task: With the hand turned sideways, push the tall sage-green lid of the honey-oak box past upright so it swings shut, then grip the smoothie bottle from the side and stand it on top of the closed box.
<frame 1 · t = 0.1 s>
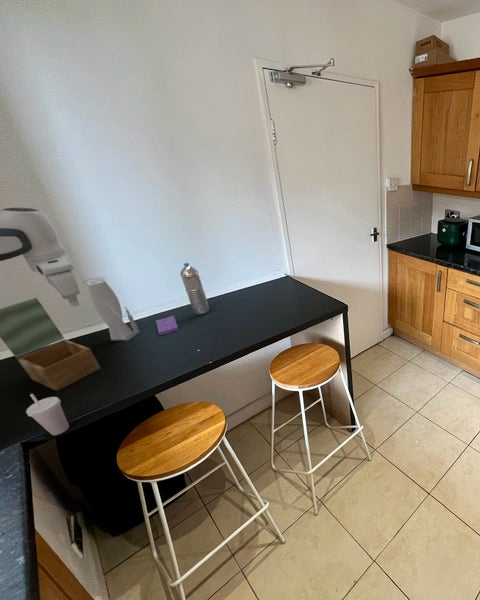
hand: (71, 301, 102), 27 cm above the countertop, tool pointing down, fingers open, 8 cm apart
chest: (67, 373, 111), on the countertop
skyscraper: (124, 337, 132), on the countertop
smoothie: (60, 430, 90), on the countertop
water bottle: (202, 312, 151), on the countertop
lid: (26, 327, 106), point 17 cm above the countertop, hinge at 100.6°
sponge: (168, 327, 139), on the countertop
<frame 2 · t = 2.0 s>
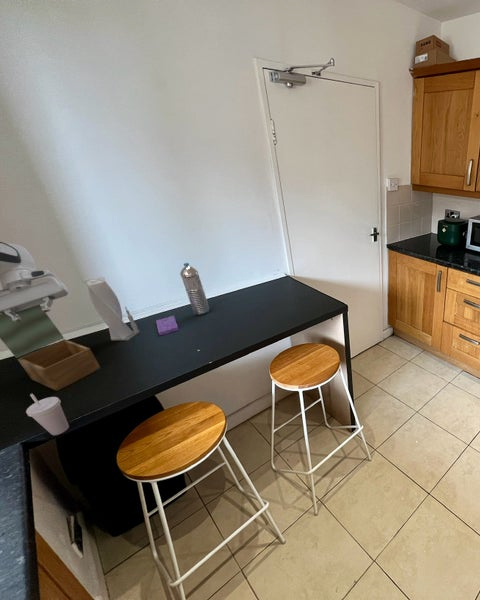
hand: (32, 315, 104), 22 cm above the countertop, tool tilted 55°, fingers open, 6 cm apart
lid: (25, 327, 107), point 17 cm above the countertop, hinge at 106.3°, touching gripper
everything else where it was.
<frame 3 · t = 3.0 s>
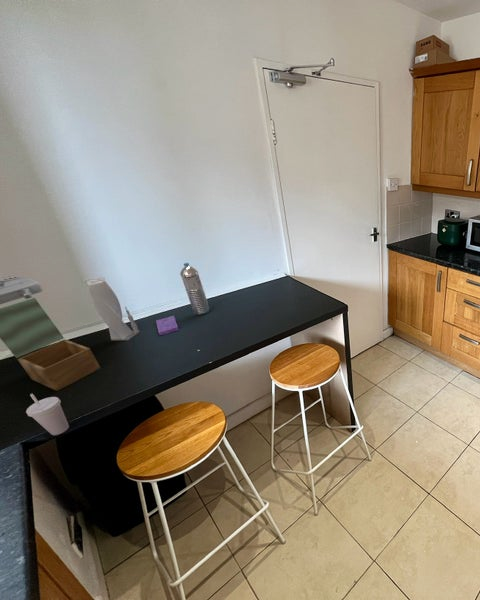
hand: (8, 302, 104), 26 cm above the countertop, tool horizontal, fingers open, 8 cm apart
lid: (25, 327, 107), point 17 cm above the countertop, hinge at 105.8°
everything else where it was.
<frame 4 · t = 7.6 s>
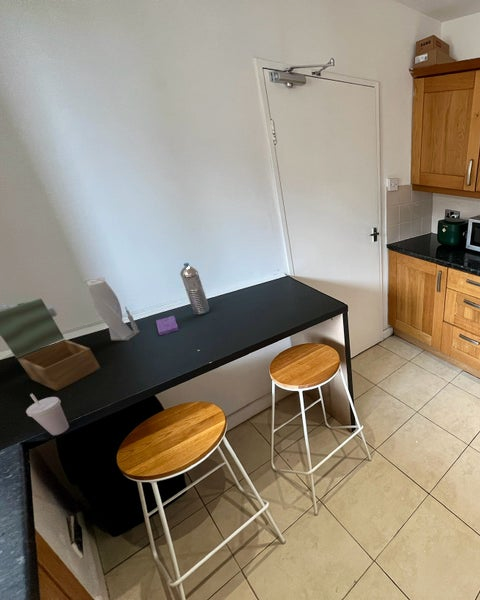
hand: (27, 326, 106), 18 cm above the countertop, tool horizontal, fingers closed, pressing on lid
lid: (28, 327, 106), point 17 cm above the countertop, hinge at 89.1°, touching gripper
everything else where it was.
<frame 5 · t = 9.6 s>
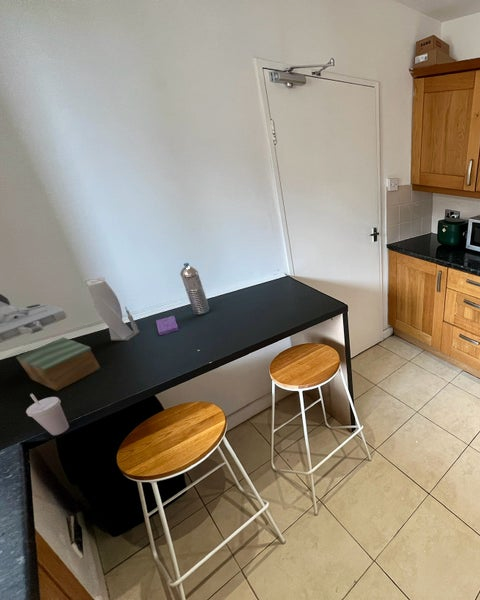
hand: (36, 329, 104), 18 cm above the countertop, tool horizontal, fingers closed
lid: (54, 352, 107), point 9 cm above the countertop, hinge at -0.1°
everything else where it was.
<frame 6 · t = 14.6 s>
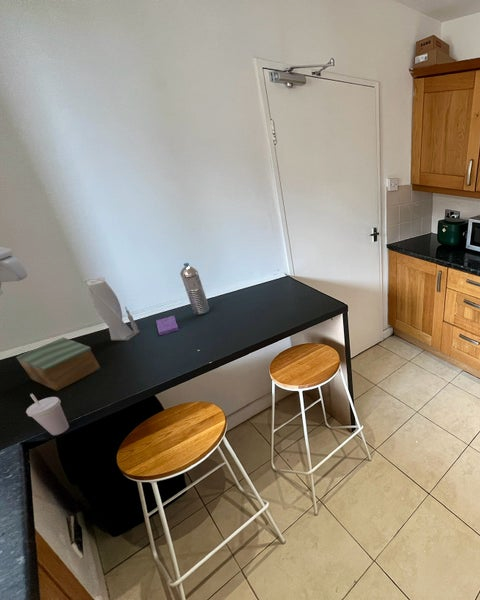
nothing on the countertop moved.
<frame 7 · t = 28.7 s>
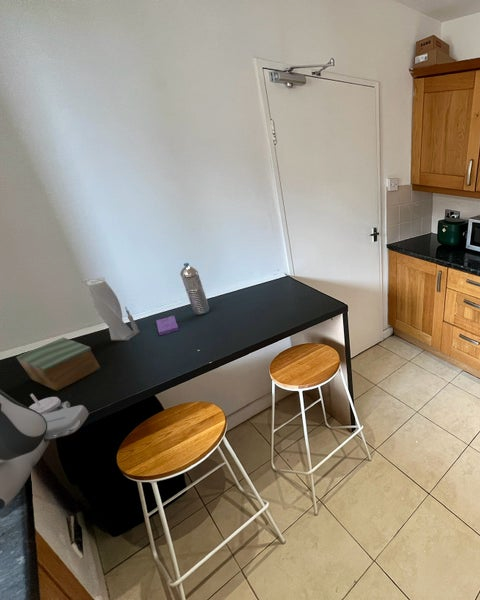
hand: (47, 408, 87), 8 cm above the countertop, tool horizontal, fingers closed on smoothie, 6 cm apart
smoothie: (60, 430, 90), on the countertop, touching gripper
everything else where it was.
when the fingers open (17 cm above the countertop, at t = 40.8 s): smoothie stays where it is, resting on lid.
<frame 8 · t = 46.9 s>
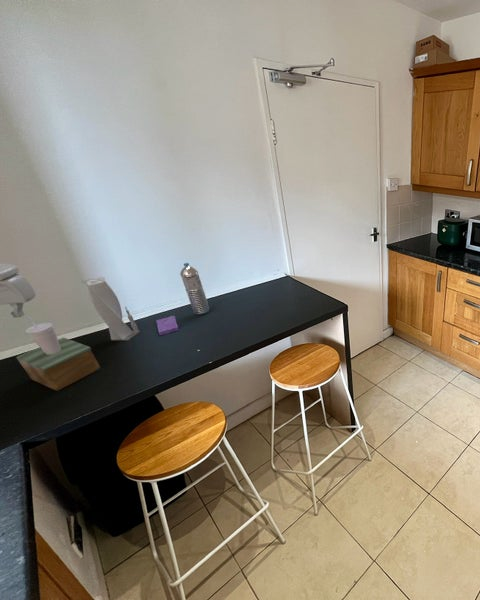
smoothie: (54, 352, 107), point 9 cm above the countertop, touching lid
lid: (54, 352, 107), point 9 cm above the countertop, hinge at -0.2°, touching chest, smoothie
everything else where it was.
at the end: lid at +0° (first picture: +100°); smoothie inside the target area on the chest (0.1 cm from its centre), point 9.4 cm above the chest's base; smoothie tilted 0° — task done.
